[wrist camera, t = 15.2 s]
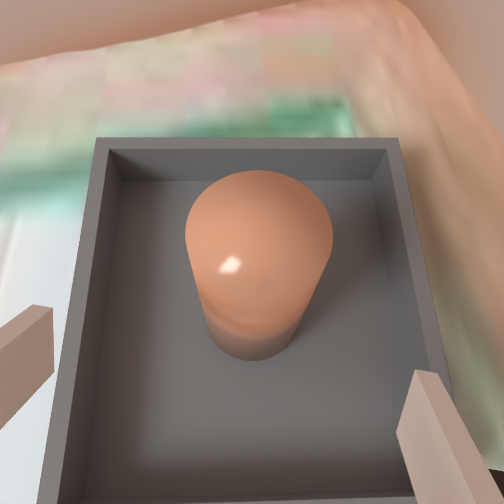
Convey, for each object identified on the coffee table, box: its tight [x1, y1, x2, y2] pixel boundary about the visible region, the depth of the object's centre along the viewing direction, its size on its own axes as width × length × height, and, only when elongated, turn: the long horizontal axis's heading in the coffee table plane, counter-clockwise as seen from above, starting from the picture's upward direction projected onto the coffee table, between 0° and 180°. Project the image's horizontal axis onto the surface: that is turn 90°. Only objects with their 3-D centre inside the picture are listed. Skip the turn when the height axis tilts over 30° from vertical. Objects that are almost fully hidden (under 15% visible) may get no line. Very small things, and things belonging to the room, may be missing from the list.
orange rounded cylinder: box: [185, 170, 333, 361], centre depth 24 cm, size 6×6×12 cm
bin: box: [36, 138, 456, 504], centre depth 28 cm, size 22×24×5 cm
